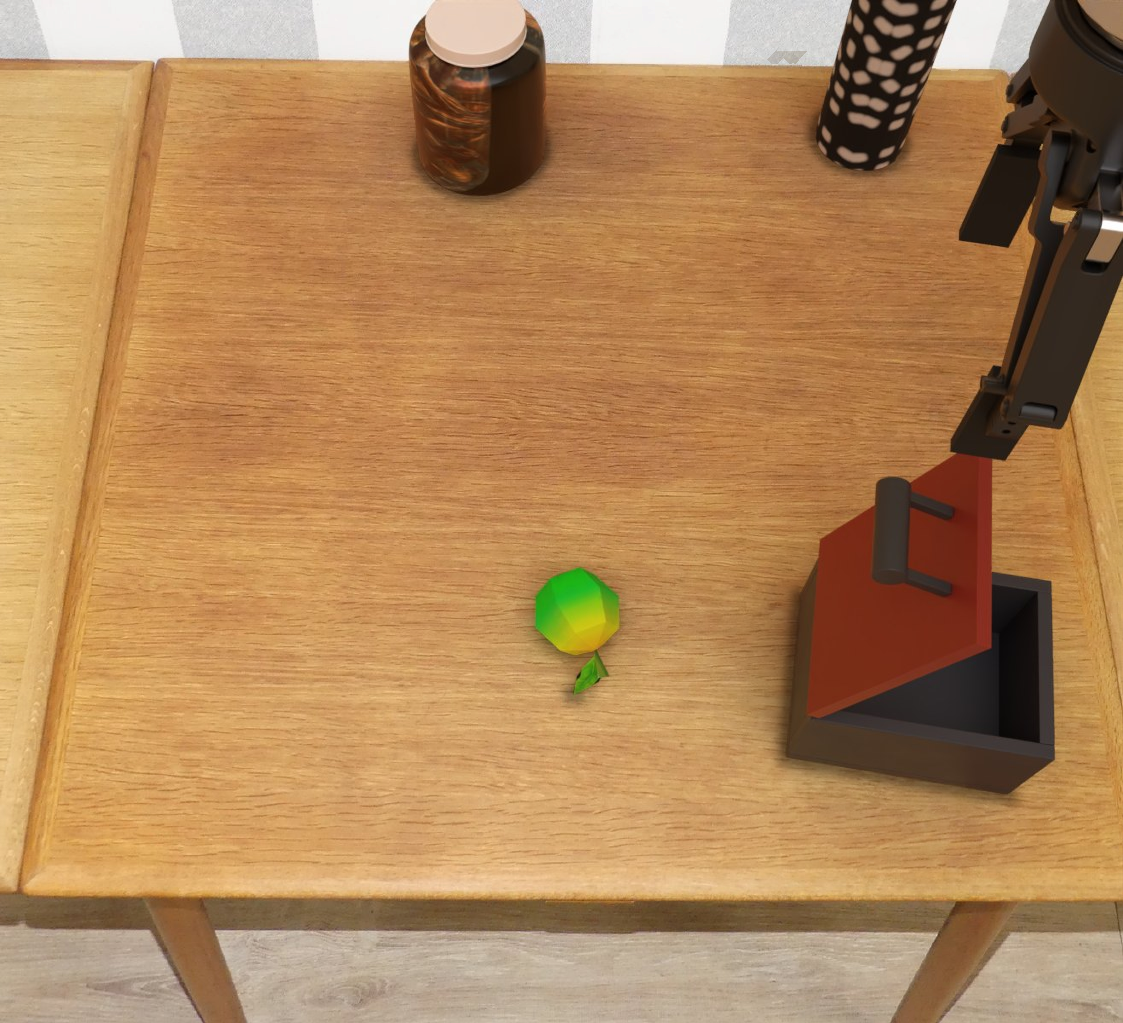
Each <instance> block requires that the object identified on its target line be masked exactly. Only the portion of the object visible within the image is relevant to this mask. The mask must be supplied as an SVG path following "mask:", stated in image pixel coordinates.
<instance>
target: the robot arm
mask: <svg viewBox="0 0 1123 1023" xmlns="http://www.w3.org/2000/svg"><path fill="white" fill-rule="evenodd" d="M1005 88H1006V89H1005V93H1004V94H1005V102H1006V104H1012V105H1014V111H1011V112H1009V113H1007V115H1005V116H1004V120H1003V121H1002V122H1001V125H1000V131H1001V138H1002V139H1004V140H1005V141H1004V142H1003V143H997V145H996V147H995V149H994V152H993V153H992V156H991V158H990V161H989V163H988V165H987V167H986V170H985V171H984V174H983V176H982V177H981V181H980V183H979V185H978V187H977V189H976V191H975V193H974V196H973V198H972V201H971V202H970V205H969V206H968V209H967V211H966V213H965V216H964V218H963V221H962V223H961V225H960V226H959V229H958V241H960V242H964V243H965V242H967V243H971V244H978V245H979V244H980V245H985V246H992V247H998V248H1006V249H1009V248H1010V246H1011V244H1012V243H1013V240H1014V238H1015V236H1016V235H1017V233H1018V231H1019V229H1020V226H1021V225H1022V223H1023V221H1024V218H1025V217H1026V215H1027V213H1028V211H1029V209H1030V208H1031V211H1030V215H1029V219H1028V221H1027V222H1028V223H1027V231H1028V233H1029V235H1030V236H1032V237H1033V238H1034V246H1033V249H1032V253H1031V257H1030V260H1029V264H1028V266H1027V271H1026V275H1025V279H1024V282H1023V286H1022V290H1021V292H1020V297H1019V301H1018V304H1017V308H1016V312H1015V315H1014V319H1013V322H1012V326H1011V330H1010V334H1009V338H1008V341H1007V343H1006V348H1005V351H1004V355H1003V359H1002V362H1001V365H996V364H993V365H992V366H991V368H990V370H989V371H988V373H987V375H984V374H980V380H979V389H978V391H977V393H976V394H975V396H974V398H973V399H972V401H971V402H970V404H969V407H968V408H967V409H966V411H965V413H964V415H963V417H962V419H961V420H960V421H959V423H958V425H957V427H956V429H955V431H954V433H953V434H952V436H951V437H950V444H949V447H950V448H949V453H953V454H956V453H959V454H965V455H971V456H977V457H984V458H990V459H992V460H997V461H1003V462H1006V460H1007V459H1008V457H1009V456H1010V455H1011V453H1012V451H1013V450H1014V449H1015V447H1016V446H1017V444H1018V442H1020V440H1021V438H1022V437H1023V435H1024V434H1025V432H1026V431H1027V429H1028V428H1029V427H1030V426H1033V427H1038V428H1039V427H1040V428H1046V429H1053V430H1059V431H1060V430H1062V429H1063V428H1064V427H1065V424H1066V423H1067V421H1068V417H1069V414H1070V411H1071V409H1072V407H1073V404H1074V401H1075V399H1076V396H1077V394H1078V392H1079V389H1080V386H1081V383H1082V381H1083V379H1084V376H1085V373H1086V371H1087V369H1088V366H1089V364H1090V362H1091V361H1090V360H1091V358H1092V356H1093V354H1094V351H1095V349H1096V346H1097V343H1098V340H1099V338H1100V336H1101V334H1102V331H1103V328H1104V325H1105V323H1106V320H1107V318H1108V315H1109V313H1110V310H1111V308H1112V305H1113V304H1114V303H1113V302H1114V301H1115V298H1116V295H1117V293H1118V290H1119V287H1120V285H1121V283H1122V280H1123V0H1049V2H1048V3H1047V6H1046V8H1045V10H1044V13H1043V15H1042V17H1041V20H1040V21H1039V24H1038V26H1037V29H1036V31H1035V33H1034V36H1033V38H1032V41H1031V42H1030V46H1029V50H1028V58H1027V59H1026V60H1025V61H1024V62H1023V64H1022V65H1021V66H1020V67H1019V69H1018V70H1017V72H1016V73H1015V74H1014V75H1013V77H1012V78H1011V80H1010V81H1009V84H1007V86H1006V87H1005ZM1032 203H1033V204H1032ZM1031 205H1032V207H1031ZM1053 207H1054V208H1055V209H1058V210H1062V211H1068V212H1069V211H1070V212H1075V213H1074V215H1073V217H1072V218H1071V220H1068V221H1067V222H1064V221H1056V220H1051V215H1052V211H1053Z"/></svg>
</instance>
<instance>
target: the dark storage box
mask: <svg viewBox="0 0 1123 1023" xmlns="http://www.w3.org/2000/svg"><path fill="white" fill-rule="evenodd" d="M818 558H819V556H818V557H817V559H816V560H815V563H814V565H813V567H812V569H811V571H810V573H809V574H808V575H809V576H808V577H807V580H806V581H805V584H804V585H803V588H802V590H801V592H800V594H799V598H798V610H797V622H796V634H795V646H794V657H793V670H792V680H791V693H790V706H789V717H788V727H787V728H788V729H787V740H786V751H785V752H786V753H785V757H786V758H787V759H793V760H798V761H799V760H800V761H805V762H811V763H817V764H823V765H830V766H834V767H835V766H836V767H841V768H846V769H853V770H859V771H865V772H871V773H875V774H876V773H877V774H883V775H889V776H894V777H899V778H900V777H901V778H907V779H912V780H917V781H918V780H919V781H925V782H931V783H937V784H942V785H948V786H953V787H954V786H955V787H960V788H967V789H973V790H978V791H984V792H991V793H996V794H1002V795H1009V794H1011V793H1012V792H1013V791H1014V790H1016V789H1018V788H1019V787H1020V786H1022V785H1023V784H1024V783H1025V782H1027V781H1028V780H1029V779H1031V778H1033V777H1034V776H1035V775H1036V774H1038V773H1039V772H1041V771H1042V770H1043V769H1045V768H1046V767H1047V766H1048V765H1050V764H1051V763H1053V762H1054V761H1055V760H1056V746H1055V745H1056V740H1055V739H1056V733H1055V730H1056V728H1055V726H1056V725H1055V687H1054V686H1055V681H1054V680H1055V679H1054V678H1055V677H1054V635H1053V633H1054V632H1053V630H1054V629H1053V594H1052V593H1053V590H1052V588H1053V587H1052V586H1053V585H1052V580H1047V579H1042V578H1041V579H1040V578H1034V577H1028V576H1022V575H1015V574H1010V573H1004V572H1002V573H1001V572H998V571H997V572H996V571H992V616H991V648H990V649H988V650H985V651H983V652H980V653H978V654H975V655H973V656H971V657H968V658H966V659H963V660H961V661H958V662H956V663H953V664H951V665H949V666H946V667H944V668H941V669H939V670H936V671H934V672H931V673H929V674H927V675H924V676H922V677H919V678H917V679H914V680H912V681H909V682H907V683H905V684H902V685H900V686H897V687H895V688H892V689H890V690H887V691H885V692H882V693H880V694H878V695H875V696H873V697H870V698H868V699H865V700H863V701H860V702H858V703H856V704H853V705H851V706H848V707H846V708H843V709H841V710H838V711H836V712H834V713H831V714H829V715H826V716H824V717H821V718H816V717H813V716H809V715H807V714H806V713H807V700H808V687H809V674H810V661H811V649H812V636H813V623H814V610H815V597H816V584H817V571H818Z"/></svg>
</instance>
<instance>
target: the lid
mask: <svg viewBox="0 0 1123 1023" xmlns="http://www.w3.org/2000/svg"><path fill="white" fill-rule="evenodd" d="M874 490H875V492H874V504H873V505H872V506H870V507H869V508H867V509H866V510H864V511H862V512H861V513H859V514H858V515H856V516H854V517H853V518H852V519H850V520H848V521H847V522H845V523H843V524H842V525H840V526H839V527H837V528H836V529H834V530H833V531H831V532H829V533H828V534H826V535H824V536H823V537H821V538H820V539H819V545H818V546H819V547H818V550H819V551H818V557H819V558H818V557H817V559H818V571H817V584H816V597H815V610H814V623H813V636H812V649H811V661H810V674H809V687H808V700H807V713H806V714H807V715H809V716H813V717H816V718H821V717H824V716H826V715H829V714H831V713H834V712H836V711H838V710H841V709H843V708H846V707H848V706H851V705H853V704H856V703H858V702H860V701H863V700H865V699H868V698H870V697H873V696H875V695H878V694H880V693H882V692H885V691H887V690H890V689H892V688H895V687H897V686H900V685H902V684H905V683H907V682H909V681H912V680H914V679H917V678H919V677H922V676H924V675H927V674H929V673H931V672H934V671H936V670H939V669H941V668H944V667H946V666H949V665H951V664H953V663H956V662H958V661H961V660H963V659H966V658H968V657H971V656H973V655H975V654H978V653H980V652H983V651H985V650H988V649H990V648H991V616H992V572H993V557H992V556H993V459H990V458H984V457H977V456H971V455H965V454H959V453H954V454H953V455H952V456H950V457H948V458H947V459H945V460H943V461H942V462H940V463H938V464H937V465H935V466H933V467H932V468H931V469H929V470H928V471H926V472H925V473H923V474H921V475H920V476H918V477H917V478H914V479H913V480H911V481H909V480H908V479H905V478H903V477H899V476H886V477H881V478H880V479H879V480H877V482H876V483H875V489H874Z"/></svg>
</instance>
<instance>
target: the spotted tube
mask: <svg viewBox="0 0 1123 1023" xmlns="http://www.w3.org/2000/svg"><path fill="white" fill-rule="evenodd" d="M957 1H958V0H851V2H850V5H849V9H848V13H847V17H846V19H845V23H844V26H843V31H842V33H841V34H842V35H841V37H840V42H839V45H838V49H837V53H836V55H835V59H834V62H833V66H832V70H831V73H830V77H829V81H828V84H827V88H826V91H825V95H824V98H823V103H822V105H821V110H820V113H819V117H818V121H817V124H816V128H815V140H816V143H817V146H818V148H819V149H820V151H821V152H822V153H823V155H824V156H826V157H827V158H828V159H829V160H831V161H832V162H834V163H835V164H836V165H838V166H840V167H843V168H846V169H850V170H854V171H863V172H867V171H875V170H876V171H877V170H879V169H883V168H885V167H888V166H889V165H891V164H892V163H894V162H895V161H896V160H897V158H898V157H899V156H900V155H901V153H902V150H903V147H904V145H905V143H906V140H907V138H908V137H907V136H908V134H909V131H910V129H911V126H912V123H913V120H914V118H915V115H916V112H917V110H918V107H919V105H920V101H921V98H922V96H923V94H924V91H925V88H926V85H927V83H928V81H929V77H930V75H931V72H932V68H933V66H934V63H935V62H936V61H935V60H936V58H937V56H938V53H939V50H940V47H941V45H942V42H943V39H944V36H945V34H946V31H947V28H948V26H949V23H950V20H951V17H952V15H953V12H954V9H955V7H956V4H957Z"/></svg>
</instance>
